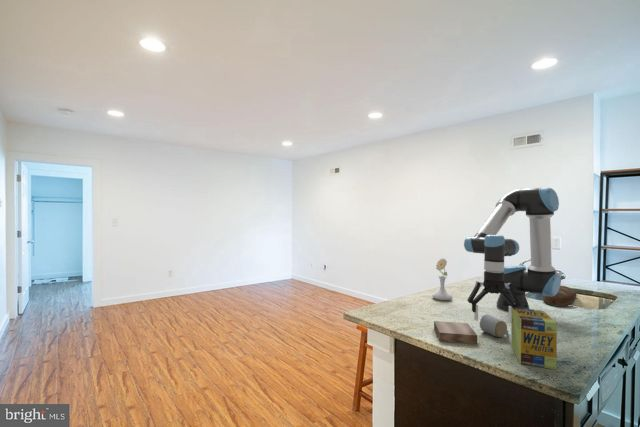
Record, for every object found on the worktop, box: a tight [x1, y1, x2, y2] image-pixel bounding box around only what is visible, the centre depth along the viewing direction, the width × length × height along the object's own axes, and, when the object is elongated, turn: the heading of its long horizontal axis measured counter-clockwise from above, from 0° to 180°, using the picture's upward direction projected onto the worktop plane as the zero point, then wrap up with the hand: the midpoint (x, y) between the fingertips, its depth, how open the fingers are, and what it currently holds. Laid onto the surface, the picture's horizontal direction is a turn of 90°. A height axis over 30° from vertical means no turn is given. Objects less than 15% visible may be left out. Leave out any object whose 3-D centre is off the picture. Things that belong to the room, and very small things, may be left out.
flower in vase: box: [432, 258, 453, 301], centre depth 188 cm, size 13×11×25 cm
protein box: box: [510, 307, 558, 370], centre depth 112 cm, size 10×15×16 cm
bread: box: [541, 285, 577, 307], centre depth 189 cm, size 16×36×8 cm, turn 136°
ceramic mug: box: [479, 313, 509, 338], centre depth 134 cm, size 11×8×8 cm
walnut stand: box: [433, 320, 478, 345], centre depth 132 cm, size 14×14×4 cm
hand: (493, 321), depth 134 cm, fingers open, 13 cm apart
